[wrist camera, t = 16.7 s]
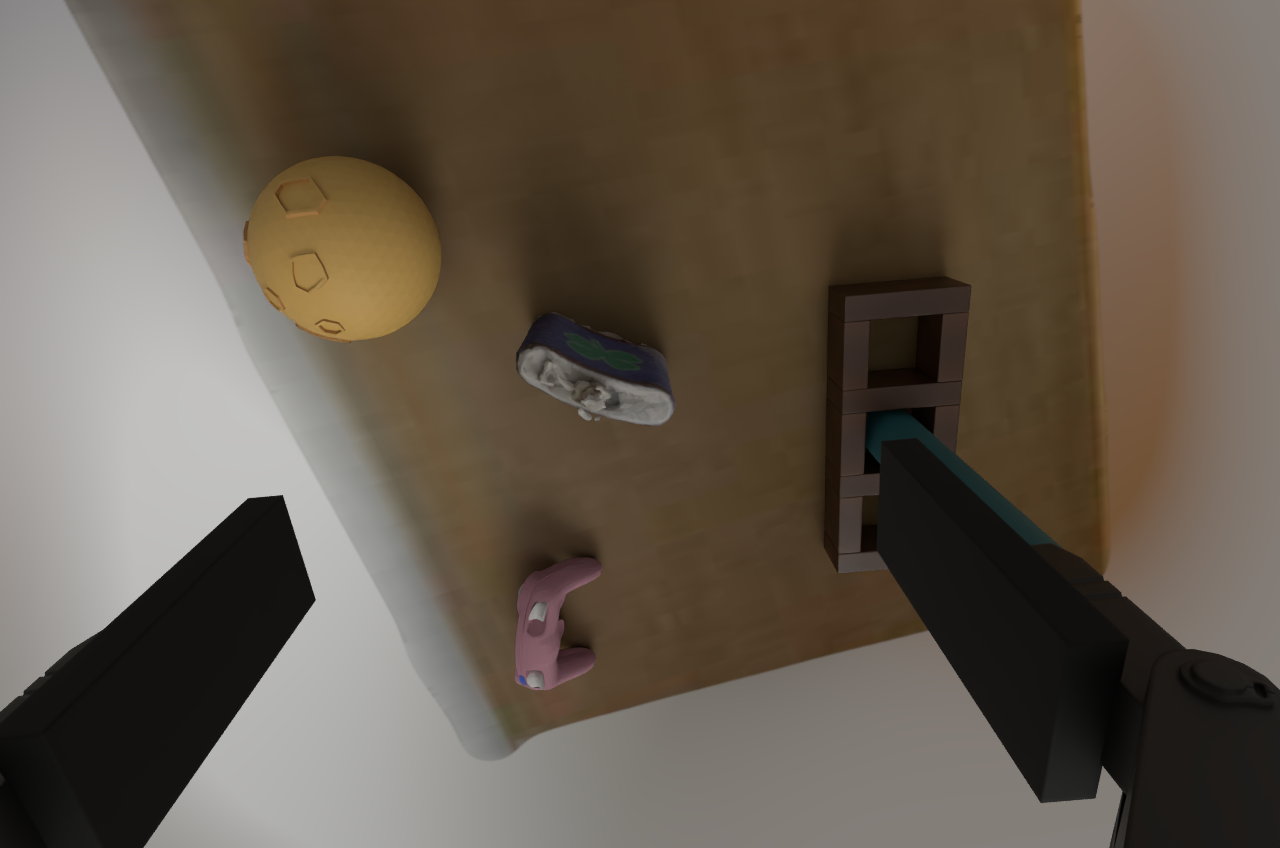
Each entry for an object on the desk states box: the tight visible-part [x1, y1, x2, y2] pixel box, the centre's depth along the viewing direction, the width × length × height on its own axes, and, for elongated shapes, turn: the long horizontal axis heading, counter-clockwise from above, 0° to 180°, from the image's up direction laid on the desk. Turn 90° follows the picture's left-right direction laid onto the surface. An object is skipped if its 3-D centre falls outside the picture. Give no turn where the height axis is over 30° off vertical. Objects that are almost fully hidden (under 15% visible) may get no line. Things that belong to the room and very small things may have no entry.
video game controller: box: [515, 557, 603, 690], centre depth 50 cm, size 10×5×7 cm, turn 175°
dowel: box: [865, 409, 1063, 549], centre depth 39 cm, size 4×4×19 cm
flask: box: [516, 312, 676, 426], centre depth 40 cm, size 9×3×11 cm, turn 69°
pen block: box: [824, 276, 971, 573], centre depth 46 cm, size 20×8×4 cm, turn 5°
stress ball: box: [244, 156, 441, 343], centre depth 38 cm, size 10×10×10 cm
